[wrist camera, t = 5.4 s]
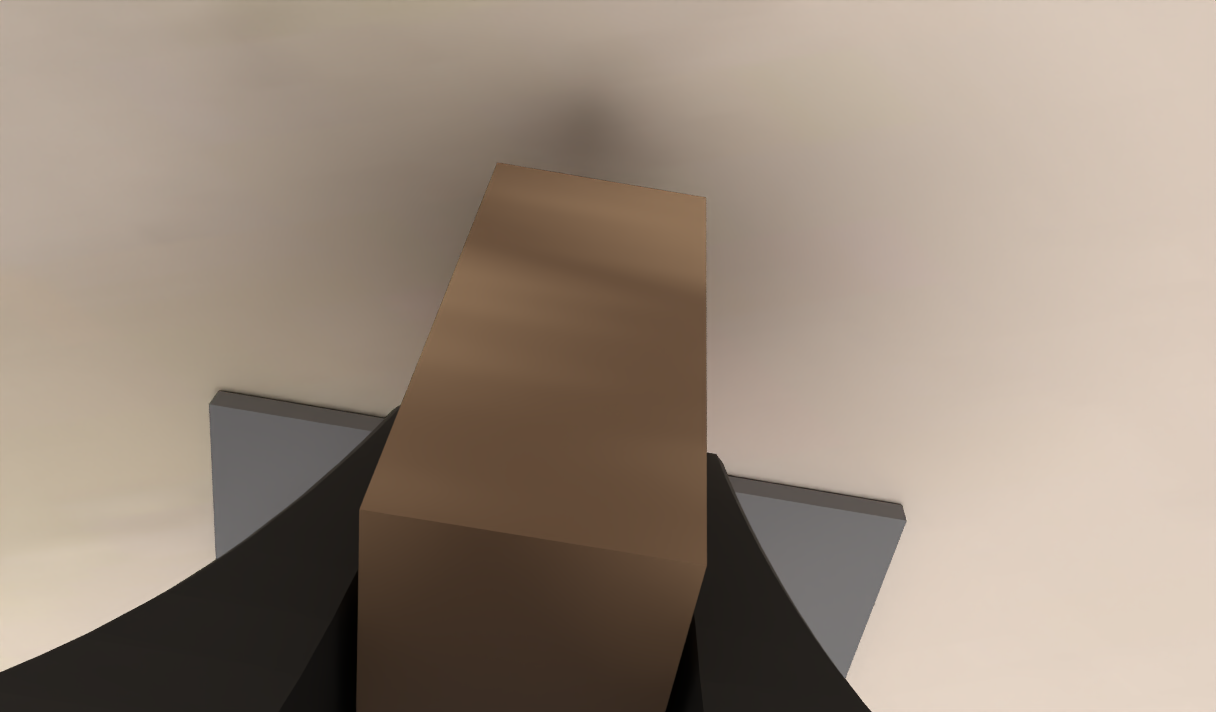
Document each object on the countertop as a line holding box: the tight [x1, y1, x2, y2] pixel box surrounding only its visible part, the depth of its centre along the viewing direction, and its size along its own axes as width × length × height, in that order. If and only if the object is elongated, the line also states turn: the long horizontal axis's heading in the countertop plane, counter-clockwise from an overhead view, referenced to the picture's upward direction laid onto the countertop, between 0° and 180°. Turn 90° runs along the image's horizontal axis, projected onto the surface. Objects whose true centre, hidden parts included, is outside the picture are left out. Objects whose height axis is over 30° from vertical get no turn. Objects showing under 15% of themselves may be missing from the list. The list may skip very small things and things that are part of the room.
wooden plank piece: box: [356, 163, 707, 712], centre depth 13 cm, size 2×10×6 cm, turn 171°
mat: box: [209, 391, 906, 678], centre depth 25 cm, size 14×14×1 cm
